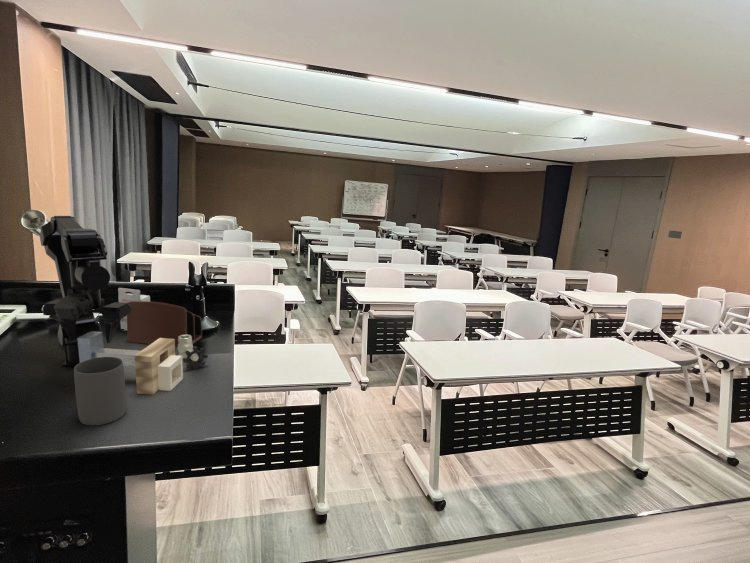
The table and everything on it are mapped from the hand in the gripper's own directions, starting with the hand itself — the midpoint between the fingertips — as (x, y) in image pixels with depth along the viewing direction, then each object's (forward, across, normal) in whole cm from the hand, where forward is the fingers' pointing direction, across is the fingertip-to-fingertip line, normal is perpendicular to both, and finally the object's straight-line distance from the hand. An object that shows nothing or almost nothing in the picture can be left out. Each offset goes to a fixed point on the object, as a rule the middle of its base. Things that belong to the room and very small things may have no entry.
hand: (90, 341), depth 109 cm
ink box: (+10, -10, +37) cm, 40 cm away
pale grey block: (+7, +7, 0) cm, 10 cm away
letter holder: (+11, +4, +29) cm, 31 cm away
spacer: (+10, +20, 0) cm, 22 cm away
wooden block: (+10, +16, 0) cm, 19 cm away
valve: (+11, +18, +14) cm, 26 cm away
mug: (+11, +11, -14) cm, 21 cm away
